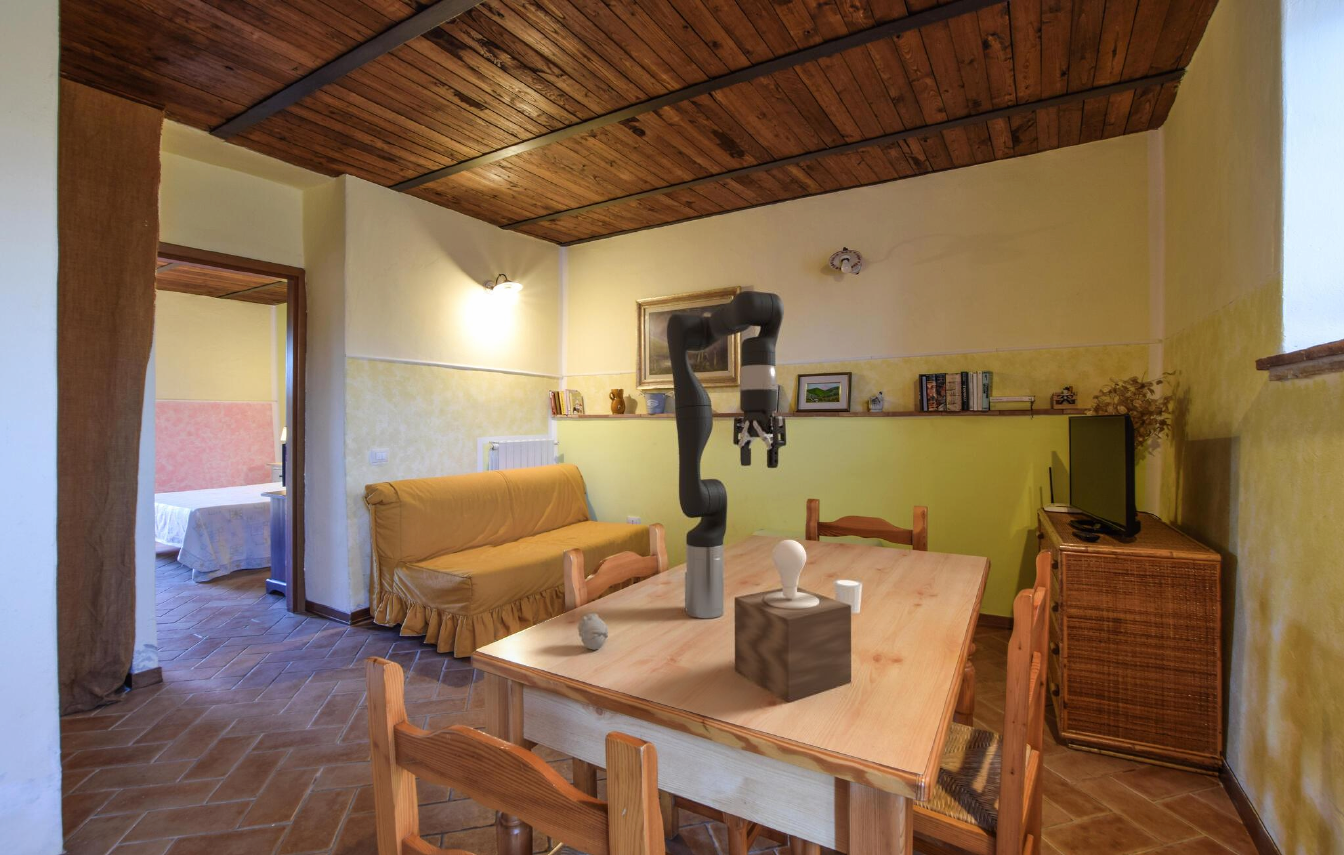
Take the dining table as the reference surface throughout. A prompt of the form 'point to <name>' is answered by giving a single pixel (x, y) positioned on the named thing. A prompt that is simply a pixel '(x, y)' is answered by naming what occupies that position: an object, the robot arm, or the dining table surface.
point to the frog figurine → (592, 631)
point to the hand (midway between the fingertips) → (758, 466)
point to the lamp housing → (793, 642)
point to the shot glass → (849, 593)
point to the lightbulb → (789, 565)
